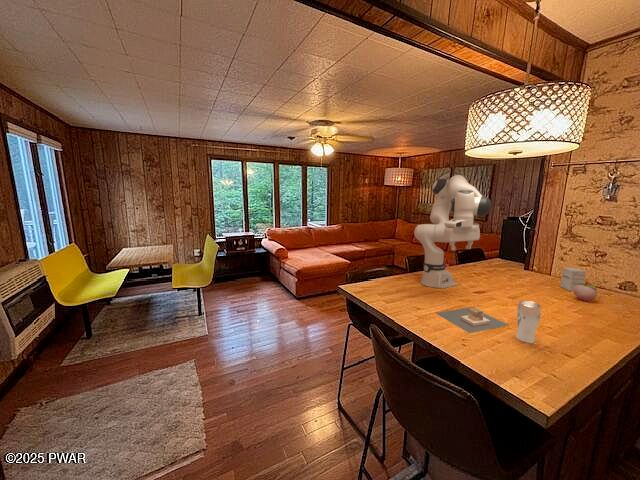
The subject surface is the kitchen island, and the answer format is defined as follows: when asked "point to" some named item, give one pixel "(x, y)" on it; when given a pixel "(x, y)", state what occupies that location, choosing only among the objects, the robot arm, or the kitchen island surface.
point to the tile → (475, 323)
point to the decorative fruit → (585, 291)
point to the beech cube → (475, 314)
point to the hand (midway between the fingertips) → (460, 249)
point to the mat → (455, 318)
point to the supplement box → (572, 278)
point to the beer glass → (527, 321)
